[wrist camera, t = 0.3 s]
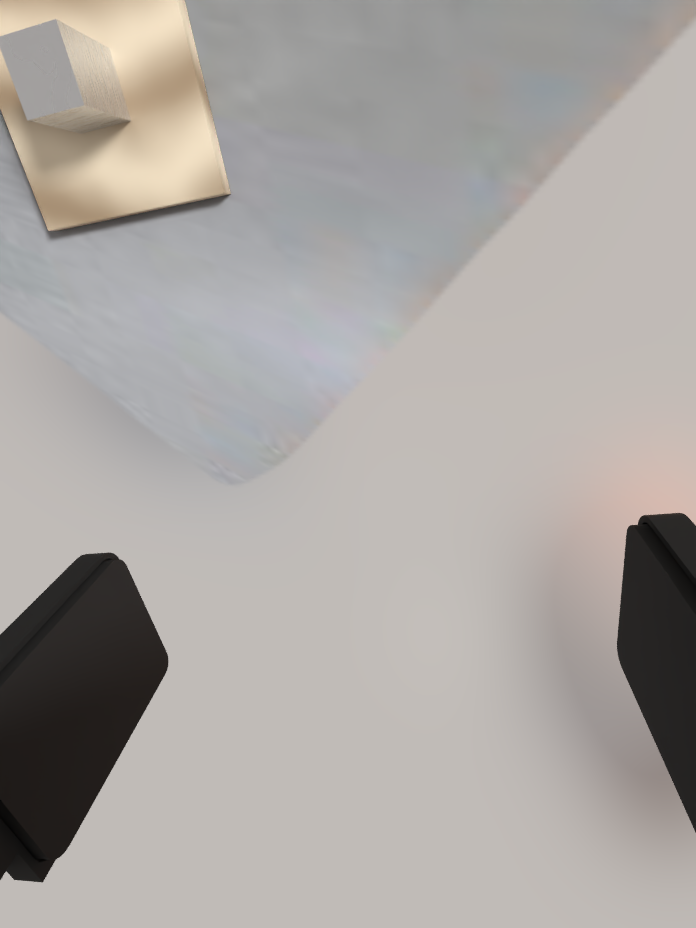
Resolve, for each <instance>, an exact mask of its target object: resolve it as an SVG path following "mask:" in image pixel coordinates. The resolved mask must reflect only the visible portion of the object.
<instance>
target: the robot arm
mask: <svg viewBox="0 0 696 928" xmlns="http://www.w3.org/2000/svg"><path fill="white" fill-rule="evenodd" d="M617 651H618V657H619V661H620V664H621V666H622V669H623V671H624V674H625V675H626V678H627V680H628V682H629V685H630V687H631V689H632V691H633V694H634V696H635V698H636V700H637V703H638V705H639V707H640V709H641V712H642V713H643V716H644V718H645V720H646V723H647V725H648V727H649V729H650V731H651V734H652V736H653V738H654V741H655V743H656V745H657V747H658V749H659V752H660V754H661V756H662V758H663V760H664V762H665V765H666V767H667V769H668V772H669V774H670V776H671V778H672V781H673V783H674V785H675V787H676V790H677V792H678V794H679V796H680V799H681V800H682V803H683V805H684V807H685V810H686V812H687V814H688V816H689V818H690V821H691V823H692V825H693V828H694V830H695V832H696V526H695V525H694V523H693V522H692V521H691V520H690V519H689V518H688V517H687V516H686V515H685V514H682V513H672V514H658V515H644V516H642V517H641V518H640V519H639V522H638V525H631V526H629V527H628V529H627V535H626V547H625V559H624V570H623V581H622V593H621V605H620V616H619V627H618V639H617ZM167 667H168V655H167V653H166V650H165V648H164V646H163V644H162V641H161V639H160V637H159V635H158V633H157V631H156V628H155V626H154V624H153V622H152V620H151V618H150V615H149V613H148V611H147V609H146V607H145V605H144V602H143V600H142V598H141V596H140V594H139V592H138V590H137V587H136V585H135V583H134V581H133V579H132V576H131V574H130V572H129V570H128V568H127V566H126V564H125V563H124V562H123V561H122V560H119V558H118V557H117V556H116V555H115V554H113V553H98V554H85V555H82V556H80V557H79V558H78V559H76V560H75V561H74V562H73V563H72V564H71V565H70V566H69V567H68V568H67V569H66V570H65V571H64V572H63V573H62V574H61V575H60V576H59V577H58V578H57V579H56V580H55V581H54V582H53V583H52V584H51V585H50V586H49V587H48V588H47V589H46V590H45V591H44V592H43V593H42V594H41V595H40V596H39V597H38V598H37V599H36V600H35V601H34V602H33V603H32V604H31V605H30V606H29V607H28V608H27V609H26V610H25V611H24V612H23V613H22V614H21V615H20V616H19V617H18V618H17V619H16V620H15V621H14V622H13V623H12V624H11V625H10V626H9V627H8V628H7V629H6V630H5V631H4V632H3V633H2V634H1V635H0V880H1V878H2V876H3V875H4V873H5V872H6V871H7V872H8V873H9V874H10V876H11V877H12V878H13V879H14V880H23V881H34V882H43V881H44V879H45V877H46V875H47V874H48V872H49V870H50V868H51V867H52V865H53V863H54V861H55V860H56V859H57V858H59V857H60V856H61V855H62V854H63V853H64V852H65V851H66V850H67V848H68V847H69V845H70V843H71V841H72V840H73V838H74V836H75V834H76V833H77V831H78V829H79V827H80V825H81V823H82V822H83V820H84V818H85V817H86V815H87V813H88V811H89V809H90V808H91V806H92V804H93V802H94V800H95V799H96V796H97V795H98V793H99V792H100V789H101V788H102V786H103V784H104V783H105V781H106V779H107V777H108V775H109V774H110V772H111V770H112V768H113V767H114V765H115V763H116V761H117V759H118V758H119V756H120V754H121V752H122V750H123V748H124V747H125V745H126V743H127V742H128V740H129V738H130V736H131V734H132V733H133V731H134V729H135V727H136V725H137V723H138V722H139V720H140V718H141V716H142V715H143V713H144V711H145V709H146V707H147V706H148V704H149V702H150V700H151V698H152V697H153V695H154V693H155V692H156V690H157V688H158V686H159V684H160V682H161V681H162V679H163V677H164V675H165V673H166V671H167Z"/></svg>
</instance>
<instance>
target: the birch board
mask: <svg viewBox="0 0 696 928" xmlns="http://www.w3.org/2000/svg"><path fill="white" fill-rule="evenodd" d="M54 19H57V20H59V21H61V22H62V23H64V24H66V25H68V26H70V27H72V28H73V29H75V30H77V31H79V32H81V33H82V34H84V35H86V36H88V37H90V38H92V39H93V40H95V41H97V42H99V43H101V44H103V45H104V46H106V47H108V48H110V52H111V55H112V58H113V62H114V65H115V68H116V72H117V75H118V78H119V82H120V85H121V88H122V92H123V95H124V98H125V102H126V105H127V108H128V112H129V115H130V118H131V121H129V122H125V123H121V124H118V125H114V126H110V127H106V128H102V129H98V130H94V131H90V132H86V133H82V134H80V133H76V132H72V131H68V130H64V129H60V128H56V127H52V126H48V125H44V124H40V123H36V122H32V121H28V120H27V118H26V116H25V113H24V110H23V108H22V105H21V102H20V100H19V97H18V94H17V92H16V89H15V86H14V84H13V81H12V78H11V76H10V73H9V71H8V68H7V65H6V63H5V60H4V57H3V55H2V52H1V49H0V109H1V112H2V114H3V117H4V119H5V122H6V124H7V127H8V129H9V132H10V134H11V137H12V140H13V142H14V145H15V147H16V150H17V152H18V155H19V157H20V160H21V162H22V165H23V167H24V170H25V173H26V175H27V178H28V180H29V183H30V185H31V188H32V190H33V193H34V195H35V198H36V201H37V203H38V206H39V208H40V211H41V213H42V216H43V218H44V221H45V223H46V226H47V229H48V231H59V230H64V229H69V228H73V227H78V226H83V225H88V224H92V223H97V222H102V221H106V220H111V219H116V218H121V217H125V216H130V215H135V214H139V213H144V212H149V211H153V210H158V209H163V208H168V207H172V206H177V205H182V204H186V203H191V202H196V201H201V200H205V199H210V198H215V197H219V196H224V195H229V194H231V193H230V188H229V184H228V180H227V176H226V172H225V168H224V163H223V159H222V155H221V151H220V147H219V142H218V138H217V134H216V130H215V126H214V122H213V117H212V113H211V109H210V105H209V101H208V96H207V92H206V88H205V84H204V80H203V75H202V71H201V67H200V63H199V59H198V55H197V50H196V46H195V42H194V38H193V34H192V29H191V25H190V21H189V17H188V13H187V9H186V4H185V0H0V36H3V35H6V34H9V33H12V32H15V31H19V30H22V29H25V28H28V27H32V26H35V25H38V24H41V23H44V22H48V21H51V20H54Z"/></svg>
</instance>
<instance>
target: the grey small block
mask: <svg viewBox="0 0 696 928" xmlns="http://www.w3.org/2000/svg"><path fill="white" fill-rule="evenodd" d="M0 49H1V52H2V55H3V57H4V60H5V63H6V65H7V68H8V71H9V73H10V76H11V78H12V81H13V84H14V86H15V89H16V92H17V94H18V97H19V100H20V102H21V105H22V108H23V110H24V113H25V116H26V118H27V120H28V121H32V122H36V123H40V124H44V125H48V126H52V127H56V128H60V129H64V130H68V131H72V132H76V133H80V134H82V133H86V132H90V131H94V130H98V129H102V128H106V127H110V126H114V125H118V124H121V123H125V122H129V121H131V118H130V115H129V112H128V108H127V105H126V102H125V98H124V95H123V92H122V88H121V85H120V82H119V78H118V75H117V72H116V68H115V65H114V62H113V58H112V55H111V52H110V48H108V47H106V46H104V45H103V44H101V43H99V42H97V41H95V40H93V39H92V38H90V37H88V36H86V35H84V34H82V33H81V32H79V31H77V30H75V29H73V28H72V27H70V26H68V25H66V24H64V23H62V22H61V21H59V20H57V19H54V20H51V21H48V22H44V23H41V24H38V25H35V26H32V27H28V28H25V29H22V30H19V31H15V32H12V33H9V34H6V35H3V36H0Z"/></svg>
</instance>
